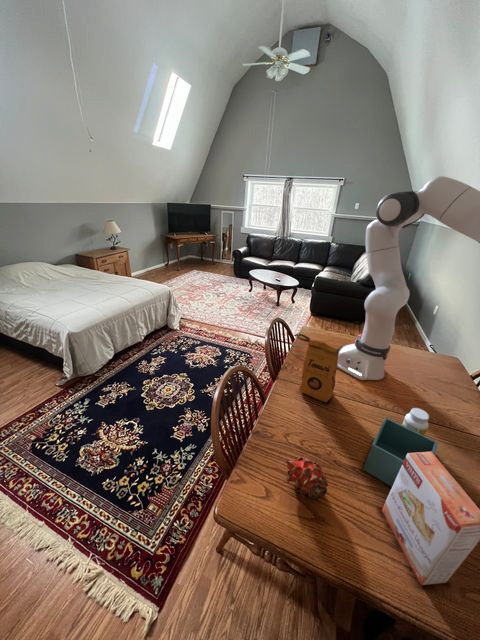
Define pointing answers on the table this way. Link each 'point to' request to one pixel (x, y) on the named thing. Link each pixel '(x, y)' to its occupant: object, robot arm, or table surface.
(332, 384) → the coffee package
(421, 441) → the trash bin
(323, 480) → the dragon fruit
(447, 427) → the table surface
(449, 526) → the cracker box
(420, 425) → the pill bottle
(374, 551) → the table surface
